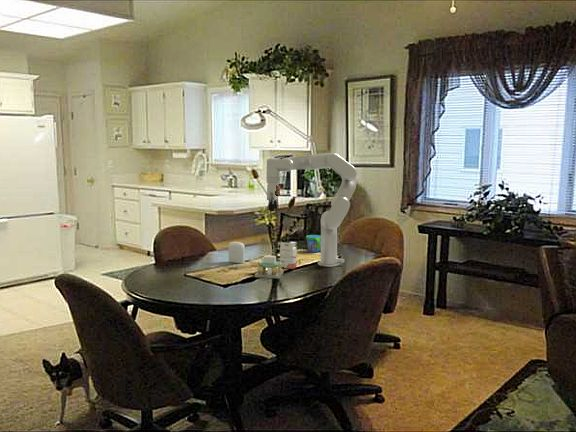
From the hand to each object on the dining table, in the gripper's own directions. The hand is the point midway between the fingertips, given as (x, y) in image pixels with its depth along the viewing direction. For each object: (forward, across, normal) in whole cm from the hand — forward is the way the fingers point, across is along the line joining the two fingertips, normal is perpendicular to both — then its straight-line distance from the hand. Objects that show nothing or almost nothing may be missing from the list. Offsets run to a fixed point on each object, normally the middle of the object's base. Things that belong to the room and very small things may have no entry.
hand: (272, 209), depth 322 cm
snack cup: (+32, -44, +19) cm, 58 cm away
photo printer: (+32, -2, -22) cm, 39 cm away
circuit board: (+27, +23, +3) cm, 35 cm away
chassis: (+32, +23, +3) cm, 40 cm away
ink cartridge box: (+33, +4, +10) cm, 34 cm away
